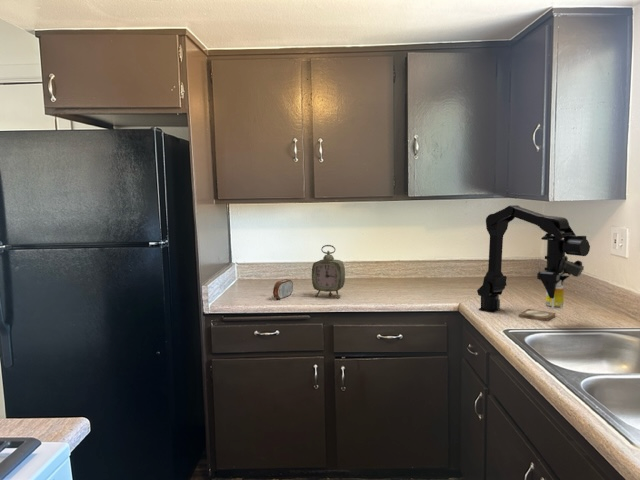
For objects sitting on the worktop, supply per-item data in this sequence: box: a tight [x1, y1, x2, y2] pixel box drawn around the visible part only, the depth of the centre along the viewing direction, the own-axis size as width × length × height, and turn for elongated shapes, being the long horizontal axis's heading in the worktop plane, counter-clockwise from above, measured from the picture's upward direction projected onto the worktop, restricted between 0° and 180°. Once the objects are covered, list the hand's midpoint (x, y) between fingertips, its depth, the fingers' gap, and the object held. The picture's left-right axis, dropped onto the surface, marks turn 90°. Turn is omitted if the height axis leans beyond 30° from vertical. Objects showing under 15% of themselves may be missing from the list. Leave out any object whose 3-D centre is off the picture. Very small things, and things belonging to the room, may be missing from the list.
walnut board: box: [518, 308, 556, 322], centre depth 175 cm, size 10×10×1 cm
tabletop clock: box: [311, 244, 346, 299], centre depth 215 cm, size 14×9×25 cm, turn 72°
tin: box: [272, 278, 294, 300], centre depth 217 cm, size 15×3×8 cm, turn 154°
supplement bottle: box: [545, 279, 565, 310], centre depth 160 cm, size 6×6×10 cm
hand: (554, 296), depth 160 cm, fingers closed on supplement bottle, 6 cm apart
